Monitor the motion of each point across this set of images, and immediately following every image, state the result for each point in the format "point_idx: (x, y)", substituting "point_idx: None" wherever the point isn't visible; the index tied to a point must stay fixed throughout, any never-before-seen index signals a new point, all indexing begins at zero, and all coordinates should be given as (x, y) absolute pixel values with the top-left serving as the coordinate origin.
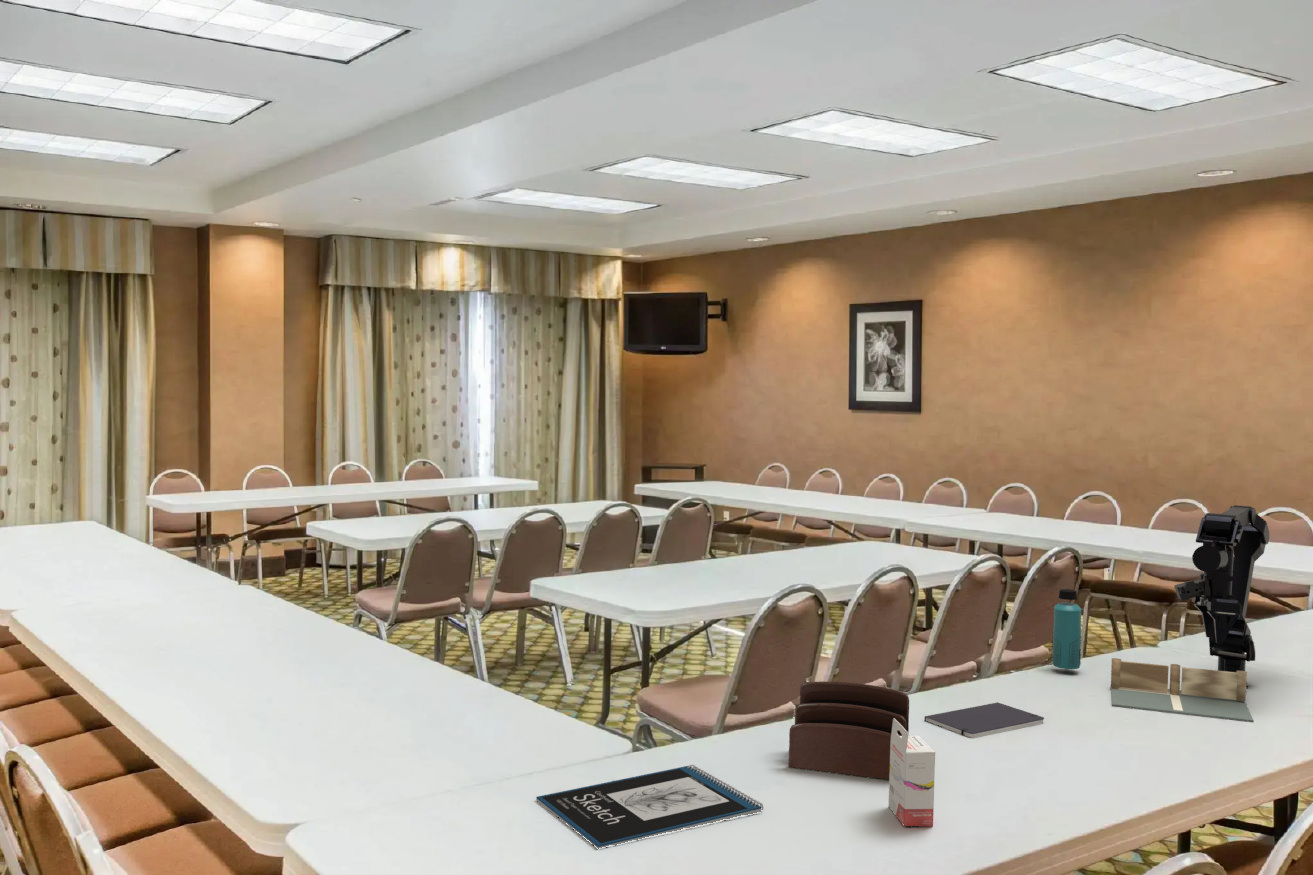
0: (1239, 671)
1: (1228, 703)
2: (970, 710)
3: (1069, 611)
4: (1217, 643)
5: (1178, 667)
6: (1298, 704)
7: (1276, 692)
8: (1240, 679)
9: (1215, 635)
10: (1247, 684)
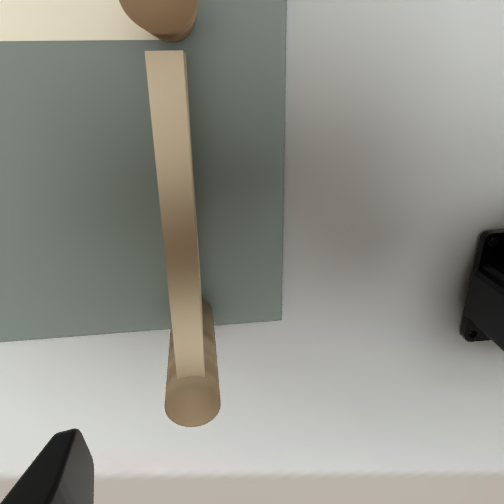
0: (193, 396)
1: (129, 268)
2: None
3: None
4: (61, 435)
5: (127, 15)
6: (283, 465)
7: (428, 413)
8: (167, 374)
9: (34, 500)
10: (484, 340)
